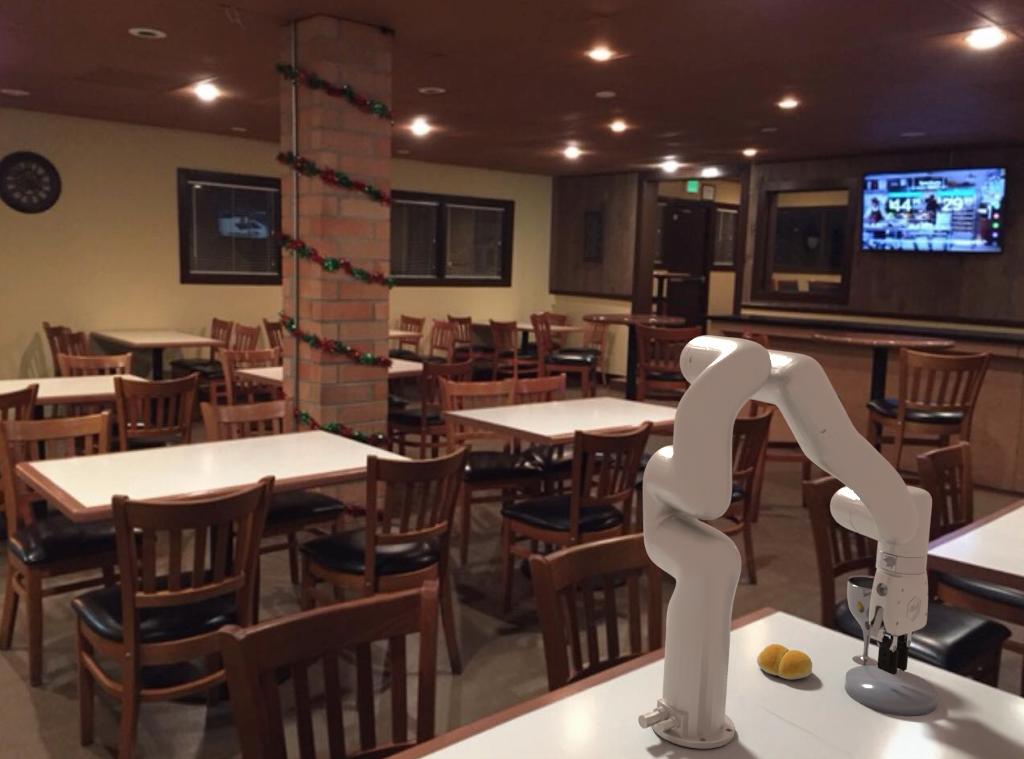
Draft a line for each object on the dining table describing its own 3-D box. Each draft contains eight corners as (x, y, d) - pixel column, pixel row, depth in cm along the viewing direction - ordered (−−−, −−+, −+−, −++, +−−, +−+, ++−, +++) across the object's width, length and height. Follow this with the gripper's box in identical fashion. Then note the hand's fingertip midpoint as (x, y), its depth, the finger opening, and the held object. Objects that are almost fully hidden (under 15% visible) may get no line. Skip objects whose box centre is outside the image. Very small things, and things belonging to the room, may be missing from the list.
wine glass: (840, 650, 163) (846, 572, 161) (886, 657, 161) (893, 578, 159) (842, 667, 155) (849, 586, 154) (891, 675, 153) (898, 592, 151)
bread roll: (801, 685, 147) (801, 662, 146) (751, 671, 152) (752, 649, 152) (820, 668, 153) (820, 646, 152) (771, 655, 159) (772, 634, 158)
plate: (904, 724, 136) (905, 711, 135) (827, 688, 147) (828, 676, 147) (953, 702, 143) (954, 691, 143) (876, 670, 155) (877, 659, 155)
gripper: (893, 576, 135) (884, 689, 137) (949, 561, 144) (940, 667, 146) (851, 562, 141) (842, 671, 143) (907, 549, 150) (898, 651, 152)
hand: (891, 668), depth 145 cm, fingers closed
